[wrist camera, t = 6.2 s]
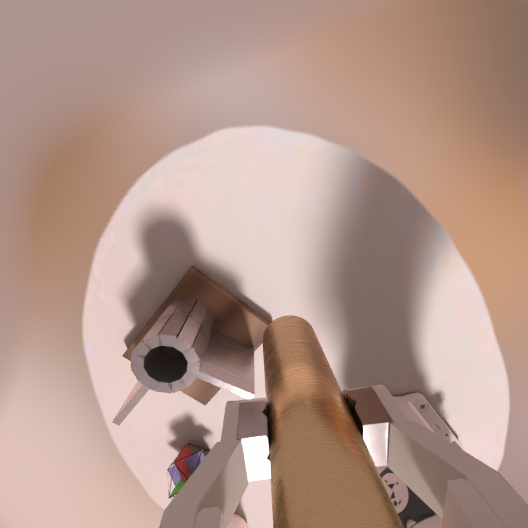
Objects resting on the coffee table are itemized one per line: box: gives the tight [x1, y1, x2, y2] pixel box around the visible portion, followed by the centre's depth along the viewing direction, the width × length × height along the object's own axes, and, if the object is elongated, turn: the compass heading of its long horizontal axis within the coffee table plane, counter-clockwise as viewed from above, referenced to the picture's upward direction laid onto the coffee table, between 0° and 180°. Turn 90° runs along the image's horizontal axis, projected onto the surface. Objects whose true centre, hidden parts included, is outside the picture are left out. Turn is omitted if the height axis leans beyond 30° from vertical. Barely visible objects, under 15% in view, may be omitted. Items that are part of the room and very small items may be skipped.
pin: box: [263, 316, 404, 528], centre depth 8 cm, size 3×3×12 cm
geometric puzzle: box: [167, 443, 210, 499], centre depth 37 cm, size 7×7×8 cm
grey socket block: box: [112, 297, 255, 425], centre depth 29 cm, size 13×13×9 cm
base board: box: [123, 266, 270, 405], centre depth 34 cm, size 14×16×2 cm
